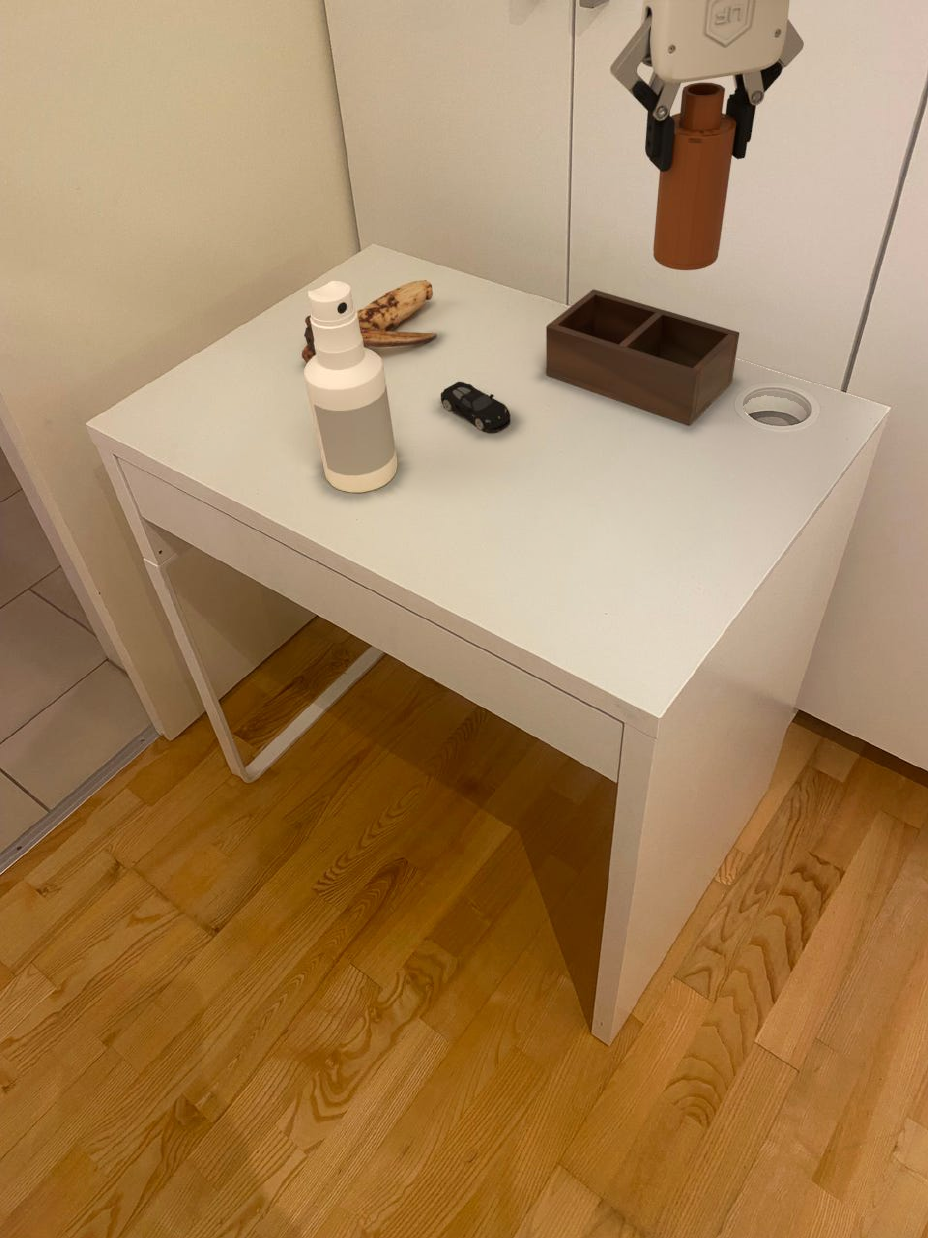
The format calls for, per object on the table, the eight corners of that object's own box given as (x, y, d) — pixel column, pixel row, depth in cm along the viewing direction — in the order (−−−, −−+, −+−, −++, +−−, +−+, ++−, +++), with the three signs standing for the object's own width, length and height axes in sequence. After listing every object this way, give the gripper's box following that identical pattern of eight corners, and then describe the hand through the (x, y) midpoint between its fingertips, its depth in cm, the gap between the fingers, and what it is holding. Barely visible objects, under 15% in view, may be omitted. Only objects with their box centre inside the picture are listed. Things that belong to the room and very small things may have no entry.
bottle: (721, 242, 86) (744, 77, 76) (714, 272, 82) (736, 103, 72) (658, 238, 87) (672, 75, 77) (648, 267, 83) (662, 101, 74)
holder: (591, 337, 102) (593, 288, 98) (731, 382, 95) (740, 331, 91) (546, 375, 98) (545, 325, 94) (689, 426, 90) (696, 374, 86)
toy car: (517, 422, 93) (516, 403, 91) (491, 437, 91) (490, 419, 90) (462, 390, 97) (460, 372, 95) (436, 405, 96) (434, 386, 94)
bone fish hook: (345, 395, 99) (469, 321, 106) (338, 356, 95) (467, 282, 103) (290, 361, 103) (413, 292, 111) (282, 322, 100) (409, 254, 107)
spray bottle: (352, 504, 86) (317, 322, 73) (311, 470, 90) (270, 291, 76) (412, 471, 88) (389, 289, 75) (370, 439, 92) (340, 261, 79)
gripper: (625, -87, 62) (611, 194, 75) (870, -120, 64) (815, 159, 77) (588, -109, 67) (581, 158, 80) (816, -139, 69) (773, 126, 82)
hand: (696, 156), depth 78 cm, fingers closed on bottle, 5 cm apart
